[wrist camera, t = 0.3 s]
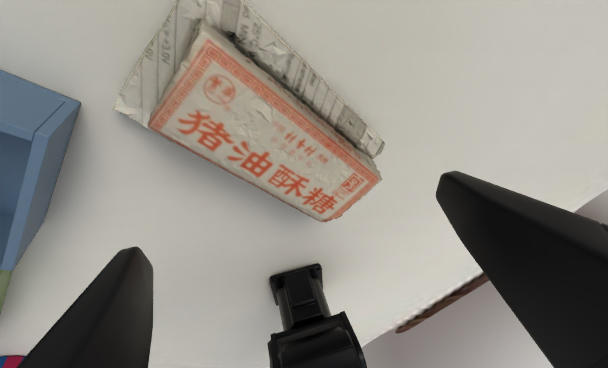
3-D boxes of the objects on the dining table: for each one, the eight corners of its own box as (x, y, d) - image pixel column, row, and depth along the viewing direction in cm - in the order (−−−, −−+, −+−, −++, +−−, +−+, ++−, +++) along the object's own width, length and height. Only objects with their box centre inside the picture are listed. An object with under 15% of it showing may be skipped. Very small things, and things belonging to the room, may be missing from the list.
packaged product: (410, 167, 22) (320, 244, 25) (381, 137, 25) (306, 207, 28) (199, -42, 11) (89, 136, 14) (202, -42, 15) (114, 100, 18)
